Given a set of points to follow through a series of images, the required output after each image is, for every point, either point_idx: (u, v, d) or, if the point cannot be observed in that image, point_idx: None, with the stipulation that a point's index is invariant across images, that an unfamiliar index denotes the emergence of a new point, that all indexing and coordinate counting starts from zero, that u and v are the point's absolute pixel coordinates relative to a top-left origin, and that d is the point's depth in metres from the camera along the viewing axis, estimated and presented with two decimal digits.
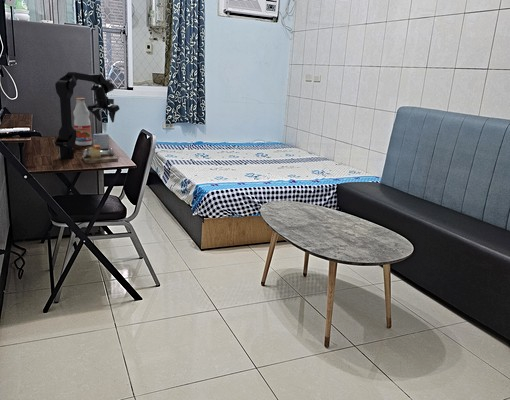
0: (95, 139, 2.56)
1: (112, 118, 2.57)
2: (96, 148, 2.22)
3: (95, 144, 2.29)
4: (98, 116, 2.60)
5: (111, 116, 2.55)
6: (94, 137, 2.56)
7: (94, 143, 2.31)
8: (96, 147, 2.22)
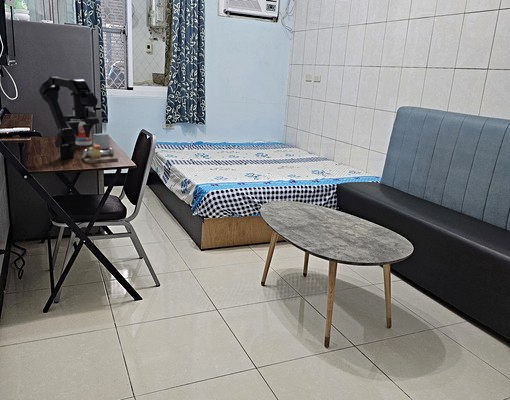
0: (95, 139, 2.56)
1: (87, 132, 2.19)
2: (96, 148, 2.22)
3: (95, 144, 2.29)
4: (76, 130, 2.23)
5: (86, 129, 2.18)
6: (94, 137, 2.56)
7: (94, 143, 2.31)
8: (96, 147, 2.22)
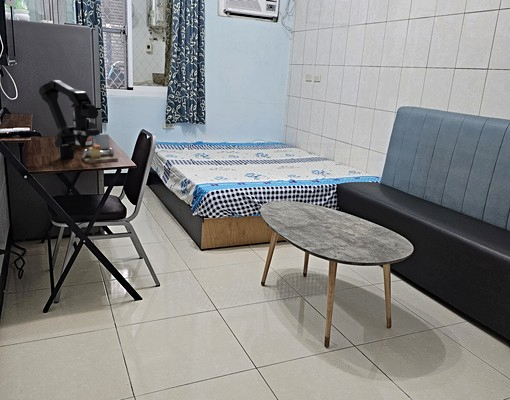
0: (95, 139, 2.56)
1: (83, 142, 2.22)
2: (96, 148, 2.22)
3: (95, 144, 2.29)
4: None
5: (81, 140, 2.21)
6: (94, 137, 2.56)
7: (94, 143, 2.31)
8: (96, 147, 2.22)
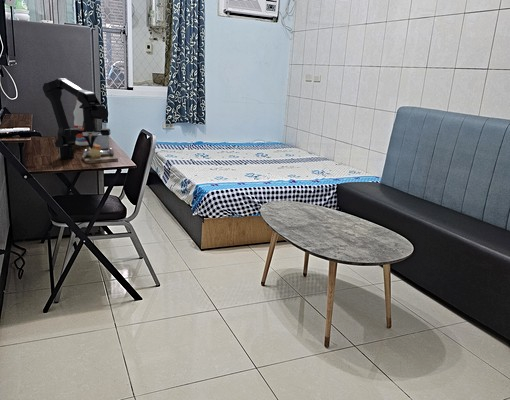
0: (95, 139, 2.56)
1: (93, 143, 2.22)
2: (96, 148, 2.22)
3: (95, 144, 2.29)
4: None
5: (93, 140, 2.21)
6: None
7: (94, 143, 2.31)
8: (96, 147, 2.22)
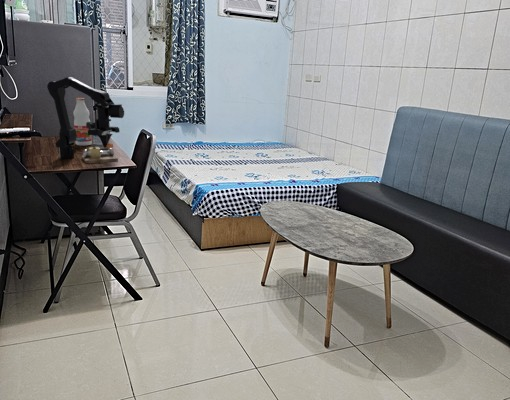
0: (95, 139, 2.56)
1: None
2: (111, 146, 2.29)
3: None
4: None
5: None
6: (94, 137, 2.56)
7: (93, 143, 2.31)
8: (111, 145, 2.28)
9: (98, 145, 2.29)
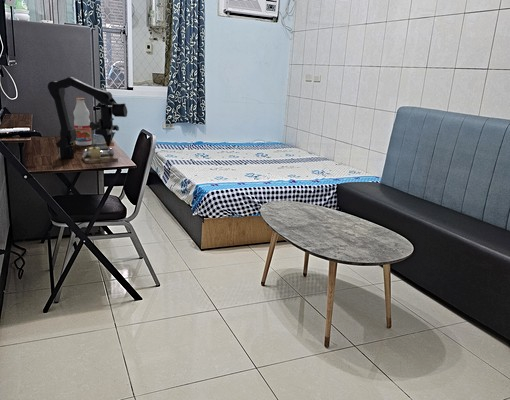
0: (95, 139, 2.56)
1: None
2: None
3: (99, 143, 2.32)
4: None
5: None
6: (94, 137, 2.56)
7: (93, 143, 2.31)
8: (113, 143, 2.34)
9: (100, 144, 2.31)
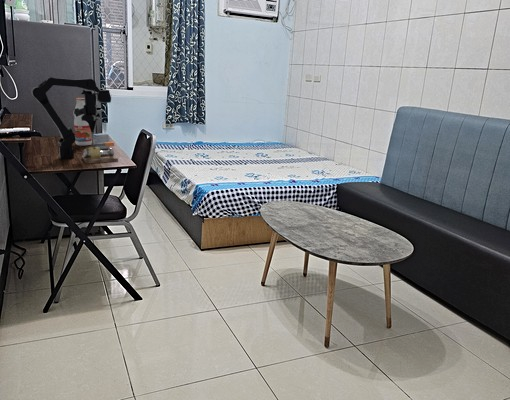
0: (95, 139, 2.56)
1: (94, 126, 2.38)
2: None
3: (99, 143, 2.32)
4: None
5: (96, 123, 2.38)
6: (94, 137, 2.56)
7: (93, 143, 2.31)
8: (113, 143, 2.34)
9: (100, 144, 2.31)
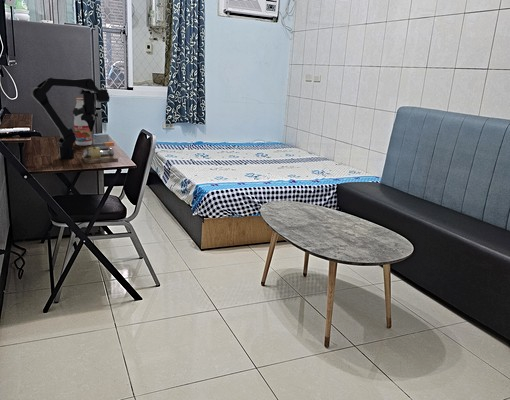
0: (95, 139, 2.56)
1: None
2: None
3: (99, 143, 2.32)
4: None
5: None
6: (94, 137, 2.56)
7: (93, 143, 2.31)
8: (113, 143, 2.34)
9: (100, 144, 2.31)
